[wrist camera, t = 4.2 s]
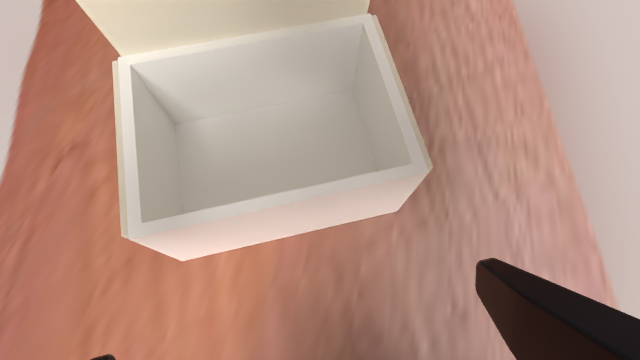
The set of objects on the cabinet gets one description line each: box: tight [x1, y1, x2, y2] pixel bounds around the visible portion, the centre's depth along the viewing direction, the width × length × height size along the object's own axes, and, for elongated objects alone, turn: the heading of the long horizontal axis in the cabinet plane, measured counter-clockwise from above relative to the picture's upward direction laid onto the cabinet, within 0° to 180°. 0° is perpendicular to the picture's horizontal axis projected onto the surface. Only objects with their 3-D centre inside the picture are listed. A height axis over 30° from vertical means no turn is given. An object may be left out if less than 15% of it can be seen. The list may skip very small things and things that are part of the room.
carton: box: [112, 13, 433, 261], centre depth 22 cm, size 10×15×7 cm
